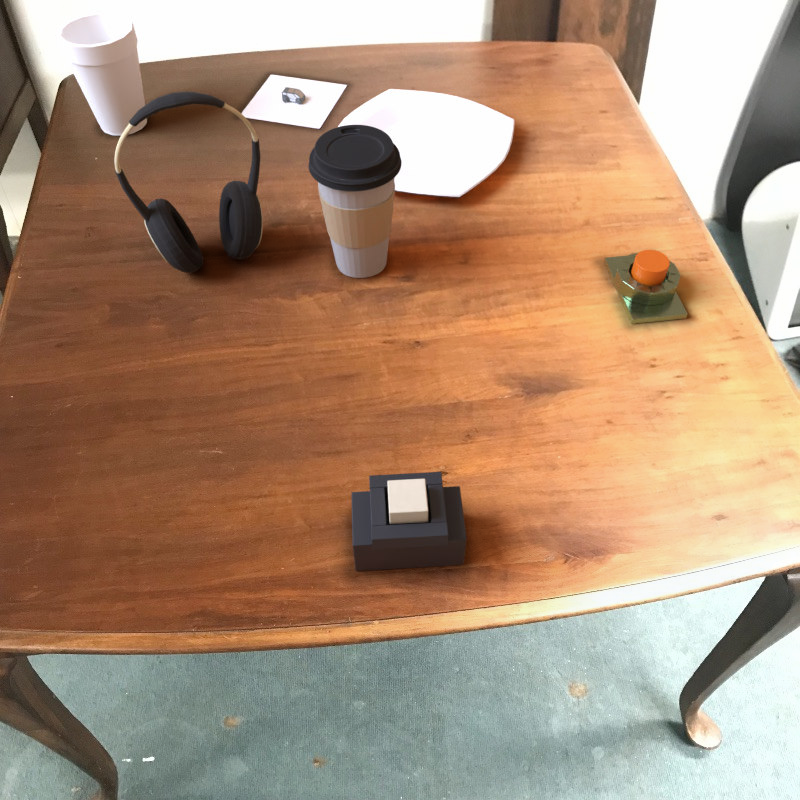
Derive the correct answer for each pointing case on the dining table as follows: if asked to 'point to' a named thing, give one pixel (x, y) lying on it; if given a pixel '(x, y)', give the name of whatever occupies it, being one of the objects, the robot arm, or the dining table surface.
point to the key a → (407, 501)
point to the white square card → (294, 101)
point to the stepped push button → (407, 527)
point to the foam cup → (105, 67)
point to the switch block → (645, 292)
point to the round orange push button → (650, 267)
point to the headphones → (236, 203)
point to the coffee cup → (357, 194)
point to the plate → (438, 139)
